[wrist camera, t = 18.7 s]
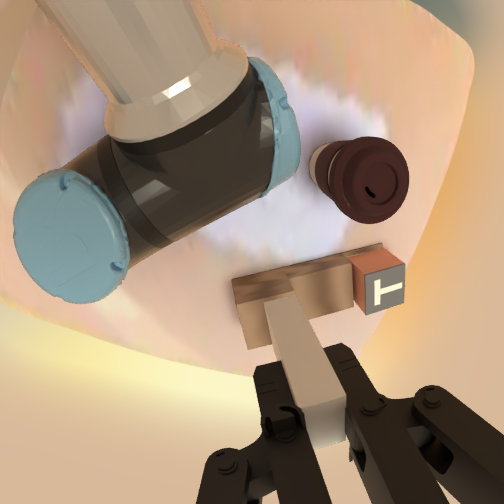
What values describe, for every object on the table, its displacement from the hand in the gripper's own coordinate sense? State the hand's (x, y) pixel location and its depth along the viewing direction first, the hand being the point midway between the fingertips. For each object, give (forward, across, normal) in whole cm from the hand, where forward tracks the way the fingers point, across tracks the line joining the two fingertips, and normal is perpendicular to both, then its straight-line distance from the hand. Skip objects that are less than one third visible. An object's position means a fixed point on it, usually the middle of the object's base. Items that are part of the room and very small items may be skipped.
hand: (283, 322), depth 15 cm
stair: (+32, +10, -17) cm, 38 cm away
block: (+25, +19, -17) cm, 36 cm away
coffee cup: (+33, +15, +1) cm, 36 cm away
